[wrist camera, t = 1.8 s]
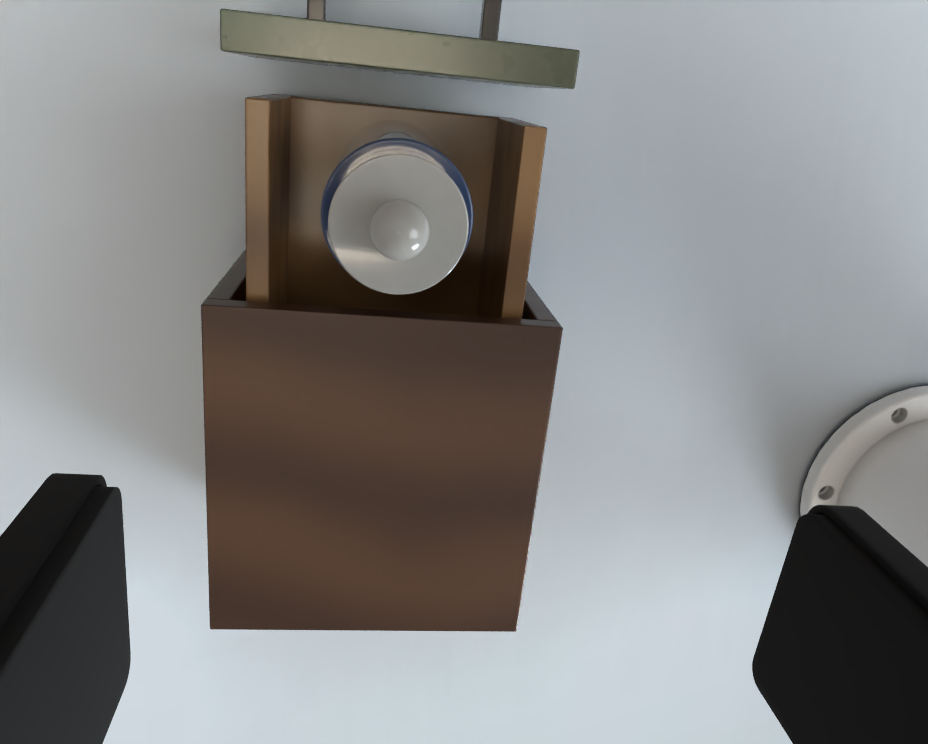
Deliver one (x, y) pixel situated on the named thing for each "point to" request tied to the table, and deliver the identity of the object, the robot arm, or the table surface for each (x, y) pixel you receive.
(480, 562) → the cabinet
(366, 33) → the drawer
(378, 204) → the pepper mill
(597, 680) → the table surface
